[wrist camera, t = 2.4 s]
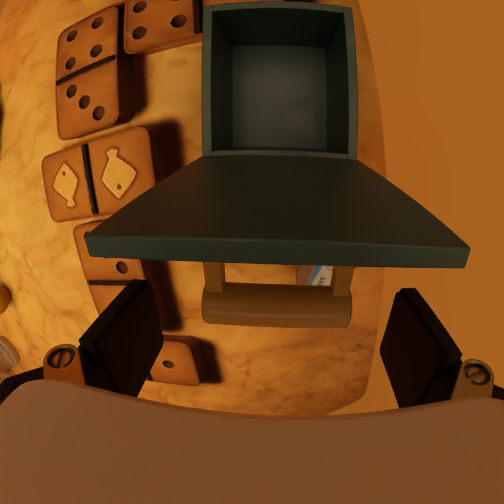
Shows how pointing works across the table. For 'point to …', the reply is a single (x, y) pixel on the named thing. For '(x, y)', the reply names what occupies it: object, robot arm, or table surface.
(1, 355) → the lantern
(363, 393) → the table surface
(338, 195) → the lid
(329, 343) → the table surface
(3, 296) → the apple
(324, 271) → the medicine box
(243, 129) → the chest
